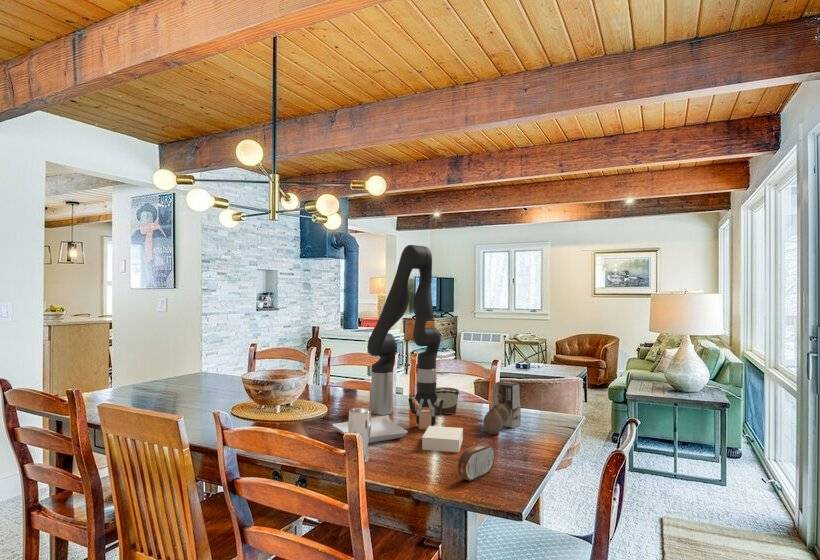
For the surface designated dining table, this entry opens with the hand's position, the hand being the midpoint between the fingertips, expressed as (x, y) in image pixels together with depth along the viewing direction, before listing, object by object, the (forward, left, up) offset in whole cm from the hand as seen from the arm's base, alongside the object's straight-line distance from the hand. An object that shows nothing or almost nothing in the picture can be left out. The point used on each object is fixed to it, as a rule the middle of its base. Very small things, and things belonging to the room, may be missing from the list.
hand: (425, 425), depth 186 cm
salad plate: (-18, -15, -2) cm, 23 cm away
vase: (+25, -1, -1) cm, 25 cm away
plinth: (+9, -19, -1) cm, 21 cm away
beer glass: (-14, -40, -1) cm, 42 cm away
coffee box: (+30, +12, -1) cm, 32 cm away
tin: (+22, -45, -1) cm, 50 cm away
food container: (+4, +26, -1) cm, 26 cm away
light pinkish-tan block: (0, 0, -1) cm, 1 cm away
